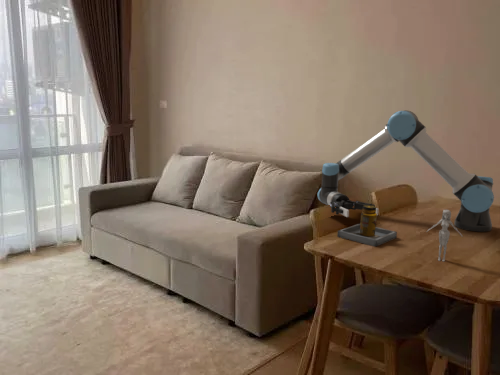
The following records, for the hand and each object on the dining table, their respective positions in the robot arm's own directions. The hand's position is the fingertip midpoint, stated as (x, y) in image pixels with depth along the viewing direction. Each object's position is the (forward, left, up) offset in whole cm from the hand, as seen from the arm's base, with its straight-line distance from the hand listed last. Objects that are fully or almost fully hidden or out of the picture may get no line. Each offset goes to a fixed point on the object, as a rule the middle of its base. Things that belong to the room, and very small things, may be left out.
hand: (362, 213), depth 198 cm
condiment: (-3, +2, -8) cm, 9 cm away
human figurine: (-36, +6, -9) cm, 37 cm away
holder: (-4, +2, -9) cm, 10 cm away
